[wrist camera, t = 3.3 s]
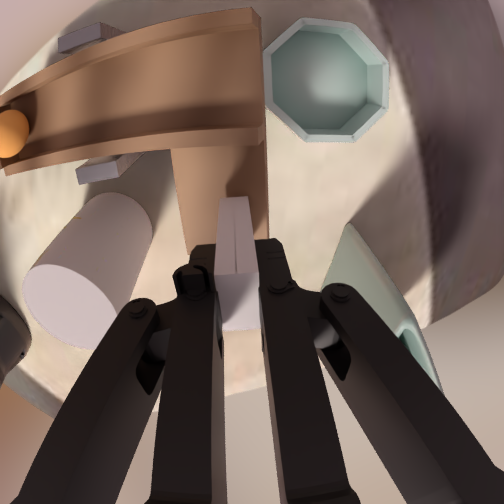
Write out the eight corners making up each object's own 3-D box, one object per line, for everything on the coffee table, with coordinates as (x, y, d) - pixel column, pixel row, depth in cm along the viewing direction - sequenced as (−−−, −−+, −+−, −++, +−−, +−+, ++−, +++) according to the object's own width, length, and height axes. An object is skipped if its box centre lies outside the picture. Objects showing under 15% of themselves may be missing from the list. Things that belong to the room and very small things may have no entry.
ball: (17, 152, 16) (-15, 168, 13) (10, 111, 14) (-23, 124, 11) (41, 144, 16) (6, 160, 13) (34, 99, 14) (-3, 110, 11)
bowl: (261, 135, 24) (266, 143, 21) (255, 25, 18) (260, 16, 15) (368, 135, 24) (386, 144, 21) (369, 34, 19) (387, 29, 16)
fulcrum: (116, 155, 23) (67, 195, 15) (103, 47, 18) (43, 37, 10) (168, 146, 23) (137, 182, 15) (157, 33, 18) (118, 9, 10)
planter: (284, 258, 31) (334, 442, 14) (350, 221, 29) (455, 383, 12) (338, 337, 39) (381, 465, 22) (388, 310, 37) (448, 433, 20)
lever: (46, 238, 22) (27, 255, 19) (11, 95, 14) (-14, 103, 12) (269, 252, 18) (261, 282, 16) (260, 17, 11) (248, 3, 8)
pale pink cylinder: (83, 184, 24) (15, 250, 14) (159, 204, 26) (122, 285, 16) (79, 251, 28) (31, 330, 18) (145, 271, 30) (117, 360, 20)
